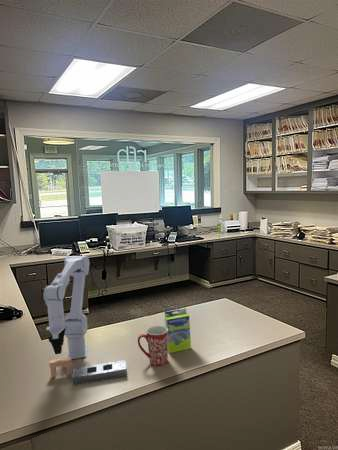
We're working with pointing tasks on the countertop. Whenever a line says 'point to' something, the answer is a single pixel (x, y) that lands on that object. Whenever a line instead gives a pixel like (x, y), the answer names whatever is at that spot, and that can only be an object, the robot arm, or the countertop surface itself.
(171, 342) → the box
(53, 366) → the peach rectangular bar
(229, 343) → the countertop surface
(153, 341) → the mug
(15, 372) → the countertop surface
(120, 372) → the gray slotted board
